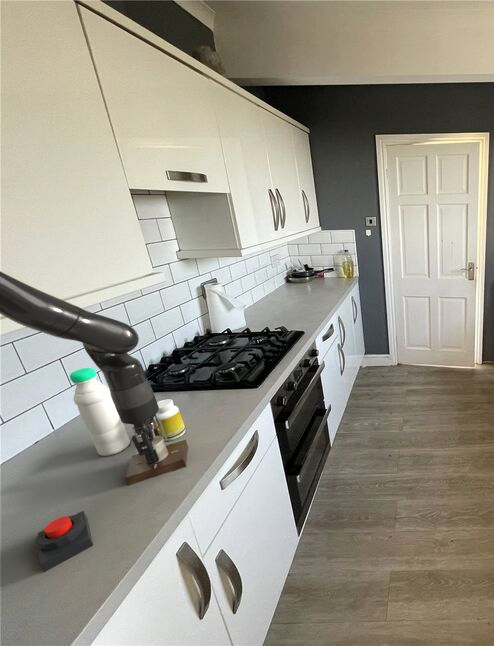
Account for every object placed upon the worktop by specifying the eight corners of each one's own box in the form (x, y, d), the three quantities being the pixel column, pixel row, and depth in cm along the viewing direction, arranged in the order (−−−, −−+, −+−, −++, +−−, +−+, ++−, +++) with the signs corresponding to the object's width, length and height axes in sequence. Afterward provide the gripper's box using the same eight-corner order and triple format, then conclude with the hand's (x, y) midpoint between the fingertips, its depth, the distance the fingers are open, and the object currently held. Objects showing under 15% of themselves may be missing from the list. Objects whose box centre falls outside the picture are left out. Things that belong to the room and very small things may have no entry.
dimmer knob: (168, 458, 90) (161, 442, 89) (145, 466, 88) (138, 450, 86) (168, 448, 94) (162, 432, 92) (146, 455, 92) (140, 439, 90)
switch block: (42, 540, 72) (33, 526, 71) (87, 517, 77) (80, 504, 76) (44, 572, 66) (35, 557, 65) (93, 545, 71) (86, 531, 70)
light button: (47, 531, 70) (43, 525, 70) (71, 519, 73) (68, 513, 72) (48, 542, 68) (44, 536, 67) (73, 529, 71) (70, 523, 70)
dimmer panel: (128, 485, 86) (124, 477, 85) (135, 463, 93) (131, 455, 92) (186, 466, 91) (183, 458, 90) (188, 446, 98) (185, 438, 98)
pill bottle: (190, 427, 107) (180, 396, 103) (178, 441, 101) (166, 409, 97) (169, 428, 106) (158, 398, 102) (156, 442, 100) (143, 410, 96)
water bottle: (117, 456, 95) (82, 377, 86) (91, 457, 95) (53, 378, 86) (137, 439, 102) (106, 364, 93) (113, 440, 102) (80, 364, 93)
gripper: (149, 409, 81) (170, 465, 87) (157, 382, 92) (176, 433, 98) (107, 419, 77) (132, 477, 83) (121, 390, 89) (143, 443, 95)
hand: (156, 453), depth 91 cm, fingers open, 6 cm apart
